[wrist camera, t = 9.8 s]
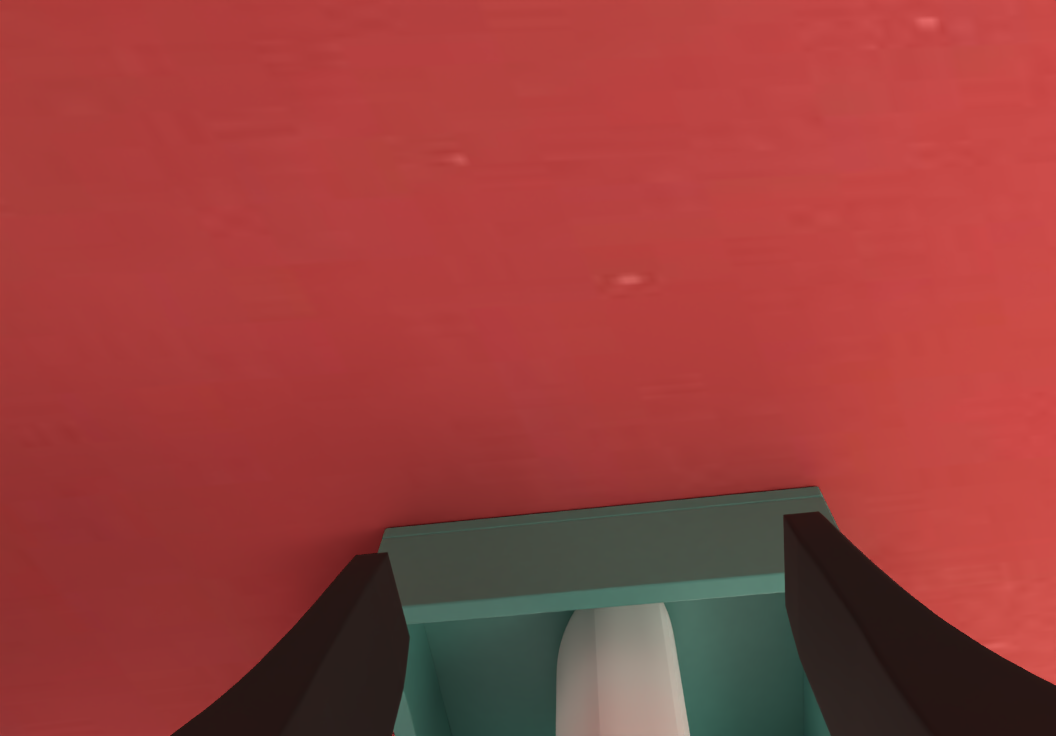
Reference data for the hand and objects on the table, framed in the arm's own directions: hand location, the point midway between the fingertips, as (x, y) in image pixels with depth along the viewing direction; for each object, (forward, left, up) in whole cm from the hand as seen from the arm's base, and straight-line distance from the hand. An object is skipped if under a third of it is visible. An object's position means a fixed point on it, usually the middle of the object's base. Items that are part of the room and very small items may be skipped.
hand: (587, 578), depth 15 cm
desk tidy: (-9, 0, -8) cm, 12 cm away
